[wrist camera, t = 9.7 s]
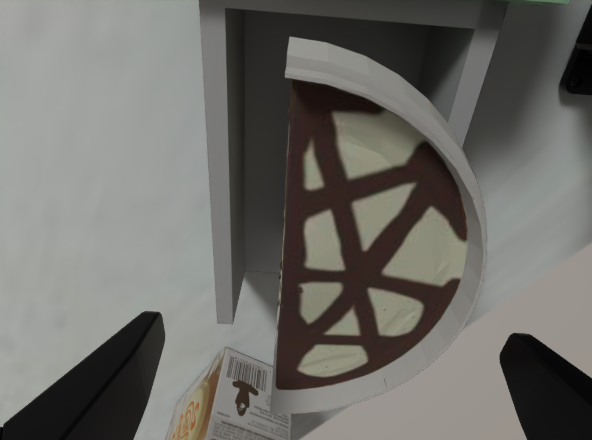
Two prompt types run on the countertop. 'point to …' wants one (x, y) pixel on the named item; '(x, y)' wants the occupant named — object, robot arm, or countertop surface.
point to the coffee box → (230, 403)
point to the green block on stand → (277, 92)
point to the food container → (369, 233)
